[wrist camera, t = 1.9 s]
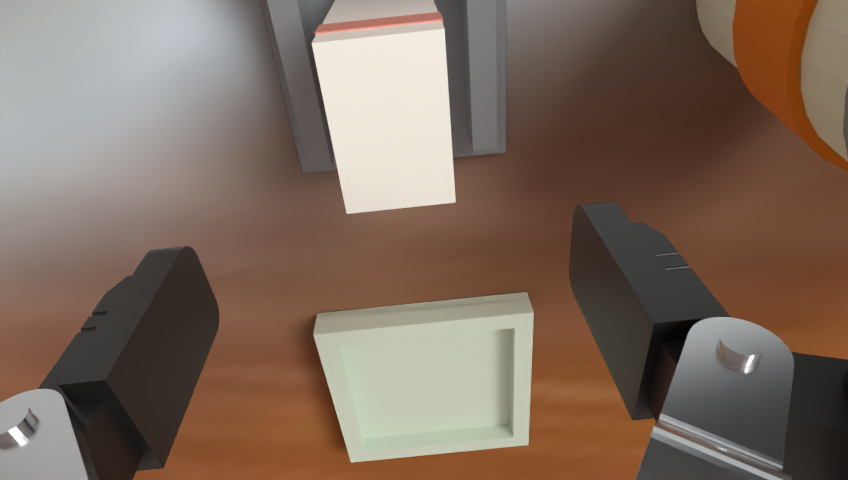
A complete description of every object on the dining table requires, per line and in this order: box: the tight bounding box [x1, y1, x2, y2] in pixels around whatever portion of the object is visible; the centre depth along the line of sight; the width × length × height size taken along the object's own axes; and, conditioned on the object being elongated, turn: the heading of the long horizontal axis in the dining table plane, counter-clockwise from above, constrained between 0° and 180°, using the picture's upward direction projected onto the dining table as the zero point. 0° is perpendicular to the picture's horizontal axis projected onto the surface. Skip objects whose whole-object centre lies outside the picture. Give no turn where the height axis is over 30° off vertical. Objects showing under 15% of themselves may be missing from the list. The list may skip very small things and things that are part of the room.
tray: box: [313, 292, 534, 462], centre depth 37 cm, size 14×14×2 cm
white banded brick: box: [312, 0, 456, 214], centre depth 21 cm, size 4×6×9 cm
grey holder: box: [260, 0, 506, 174], centre depth 22 cm, size 11×13×5 cm
